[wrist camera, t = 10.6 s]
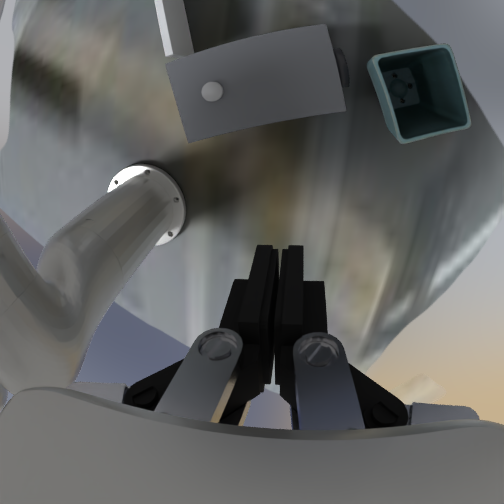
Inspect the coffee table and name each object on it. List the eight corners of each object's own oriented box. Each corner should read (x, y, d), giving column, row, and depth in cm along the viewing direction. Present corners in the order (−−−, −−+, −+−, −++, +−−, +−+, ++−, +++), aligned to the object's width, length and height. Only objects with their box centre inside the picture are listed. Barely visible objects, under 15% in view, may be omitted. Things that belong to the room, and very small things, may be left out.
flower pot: (437, 115, 29) (473, 128, 21) (376, 130, 32) (399, 145, 24) (417, 49, 25) (450, 42, 17) (352, 62, 28) (370, 56, 20)
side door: (195, 58, 30) (173, 54, 24) (181, 62, 30) (156, 59, 24) (177, -29, 23) (153, -46, 17) (164, -25, 23) (138, -40, 17)
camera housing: (207, 132, 35) (186, 144, 28) (188, 66, 30) (162, 63, 24) (347, 105, 31) (359, 110, 24) (330, 34, 26) (339, 21, 20)
